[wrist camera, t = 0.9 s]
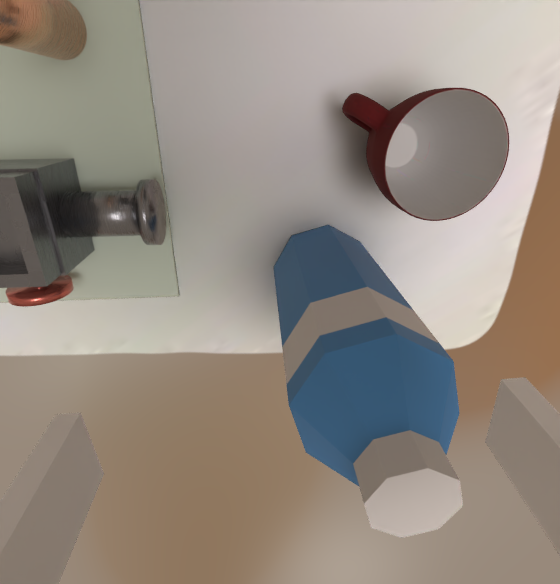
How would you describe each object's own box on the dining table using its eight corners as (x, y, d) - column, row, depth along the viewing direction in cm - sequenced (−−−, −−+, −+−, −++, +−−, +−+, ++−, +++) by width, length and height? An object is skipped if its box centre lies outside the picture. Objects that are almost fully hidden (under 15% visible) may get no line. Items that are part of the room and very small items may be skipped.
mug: (307, 158, 34) (326, 177, 25) (351, 60, 31) (391, 40, 22) (409, 206, 36) (461, 239, 27) (460, 119, 33) (537, 123, 24)
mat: (-181, -4, 27) (-187, -5, 27) (138, -4, 28) (136, -6, 28) (-52, 302, 37) (-55, 304, 37) (179, 294, 38) (178, 296, 38)
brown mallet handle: (22, -5, 27) (-153, -91, 16) (79, -6, 28) (-51, -90, 16) (37, 60, 29) (-110, 28, 17) (92, 60, 29) (-18, 27, 18)
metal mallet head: (-115, 162, 32) (-235, 179, 24) (159, 156, 33) (129, 171, 25) (-64, 283, 36) (-150, 330, 28) (175, 275, 37) (154, 319, 29)
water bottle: (331, 204, 35) (464, 371, 13) (385, 276, 39) (565, 508, 16) (253, 265, 38) (250, 501, 15) (311, 328, 41) (378, 598, 18)
